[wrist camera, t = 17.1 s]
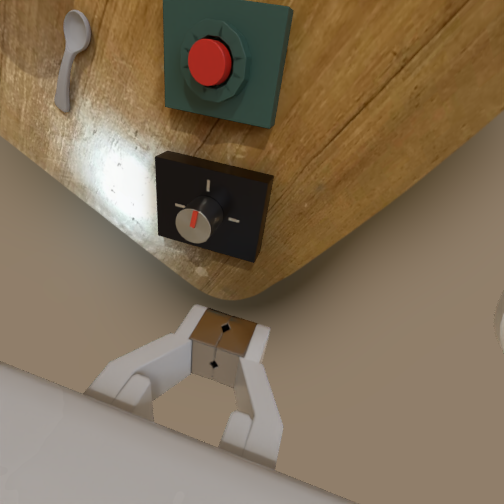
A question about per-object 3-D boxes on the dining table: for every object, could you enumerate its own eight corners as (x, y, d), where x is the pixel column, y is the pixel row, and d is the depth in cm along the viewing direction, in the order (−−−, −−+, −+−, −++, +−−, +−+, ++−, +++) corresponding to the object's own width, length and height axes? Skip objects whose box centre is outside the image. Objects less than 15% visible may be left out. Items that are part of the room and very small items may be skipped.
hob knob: (218, 233, 39) (205, 250, 36) (188, 220, 39) (171, 235, 36) (227, 204, 37) (213, 219, 33) (194, 190, 37) (177, 203, 33)
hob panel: (274, 175, 36) (267, 184, 34) (260, 251, 42) (253, 263, 40) (167, 150, 39) (154, 156, 36) (169, 225, 45) (157, 235, 42)
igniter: (293, 10, 28) (285, 3, 25) (274, 125, 33) (265, 132, 30) (174, -7, 30) (151, -16, 26) (174, 104, 35) (156, 108, 32)
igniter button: (233, 43, 27) (226, 42, 26) (229, 88, 29) (223, 89, 28) (196, 36, 28) (188, 35, 26) (195, 81, 30) (187, 82, 28)
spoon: (99, 22, 33) (85, 22, 31) (78, 115, 40) (66, 118, 39) (76, 3, 33) (61, 1, 31) (59, 99, 40) (46, 102, 38)
